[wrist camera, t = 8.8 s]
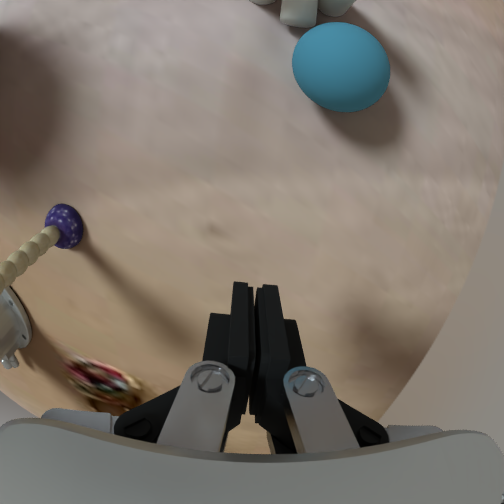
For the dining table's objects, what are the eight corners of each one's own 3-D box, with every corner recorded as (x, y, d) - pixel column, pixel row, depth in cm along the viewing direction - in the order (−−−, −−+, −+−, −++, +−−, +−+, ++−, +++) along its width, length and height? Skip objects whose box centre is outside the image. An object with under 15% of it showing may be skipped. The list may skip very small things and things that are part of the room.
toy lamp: (93, 244, 23) (-31, 376, 8) (61, 258, 24) (-49, 373, 8) (71, 195, 21) (-80, 298, 6) (41, 214, 22) (-88, 310, 7)
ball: (363, 49, 16) (327, 110, 19) (301, 5, 13) (261, 76, 16) (423, 66, 12) (379, 142, 15) (359, 4, 9) (305, 96, 12)
